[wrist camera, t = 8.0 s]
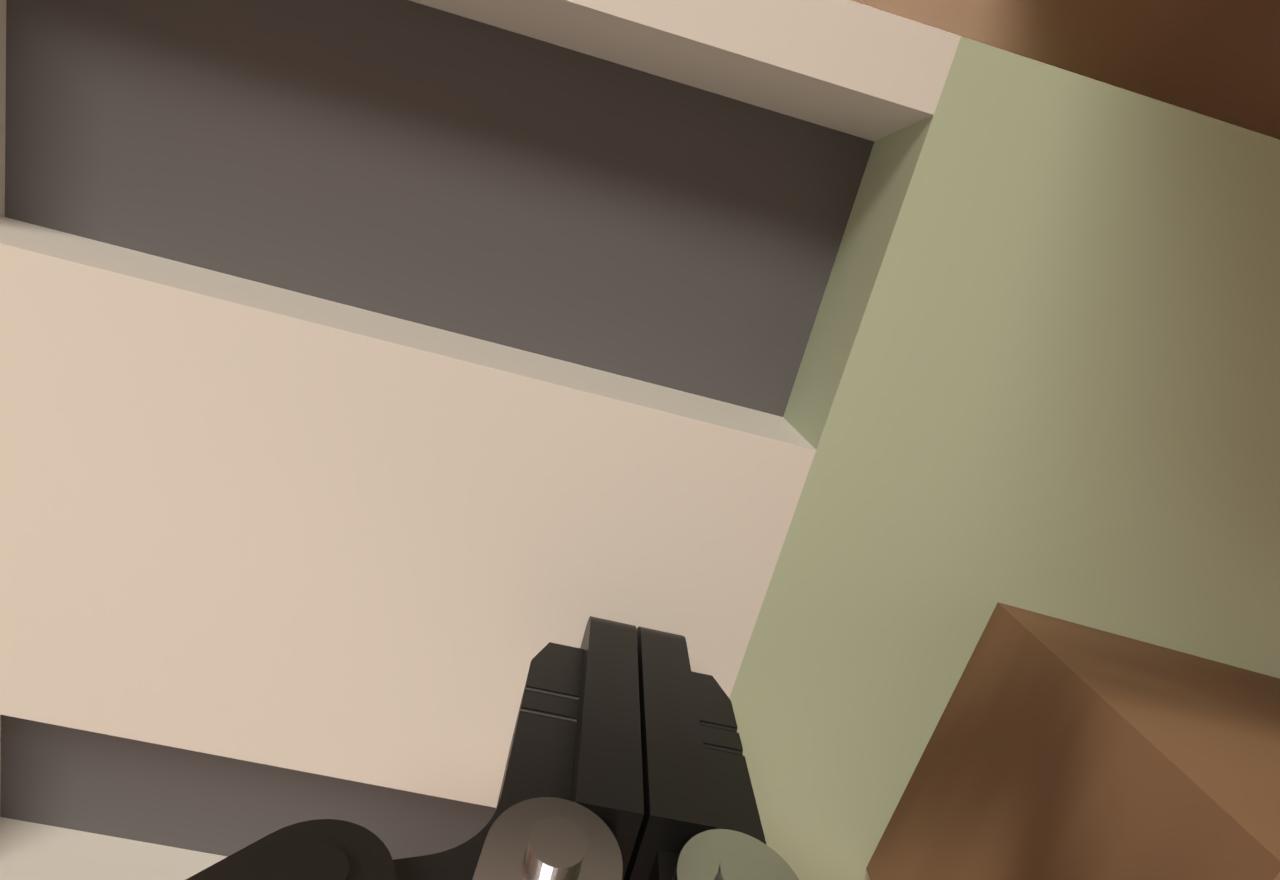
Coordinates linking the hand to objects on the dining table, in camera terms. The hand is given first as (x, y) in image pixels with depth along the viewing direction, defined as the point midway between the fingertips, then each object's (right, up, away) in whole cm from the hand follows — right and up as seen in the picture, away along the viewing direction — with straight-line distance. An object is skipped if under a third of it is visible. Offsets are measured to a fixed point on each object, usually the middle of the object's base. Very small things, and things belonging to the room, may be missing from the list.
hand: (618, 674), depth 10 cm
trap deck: (+1, +1, +4) cm, 4 cm away
